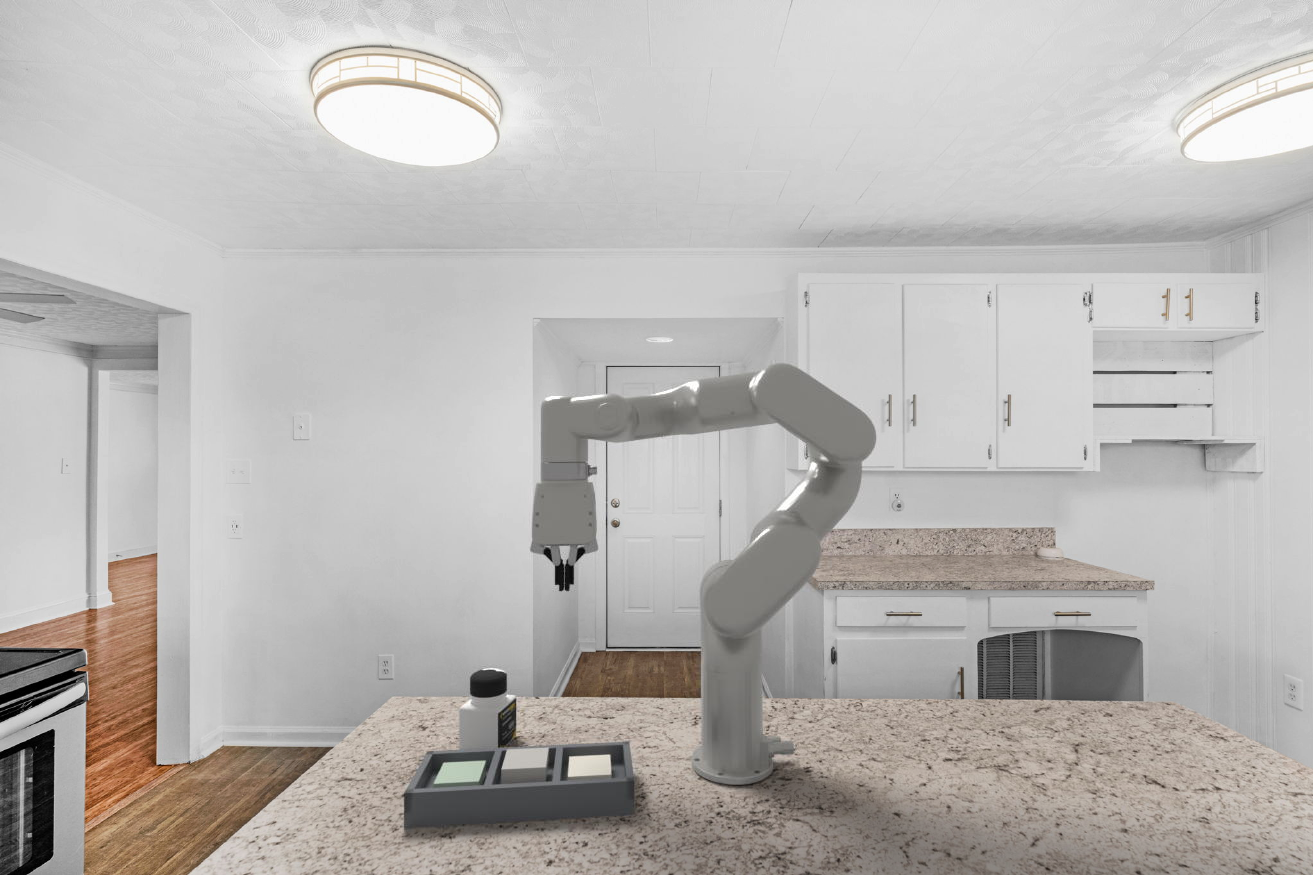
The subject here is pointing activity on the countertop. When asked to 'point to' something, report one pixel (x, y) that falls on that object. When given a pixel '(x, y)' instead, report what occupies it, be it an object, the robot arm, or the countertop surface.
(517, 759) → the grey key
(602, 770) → the cream key
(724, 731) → the robot arm
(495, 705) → the medicine bottle
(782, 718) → the countertop surface
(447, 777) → the sage key
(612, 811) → the grey compartment tray
